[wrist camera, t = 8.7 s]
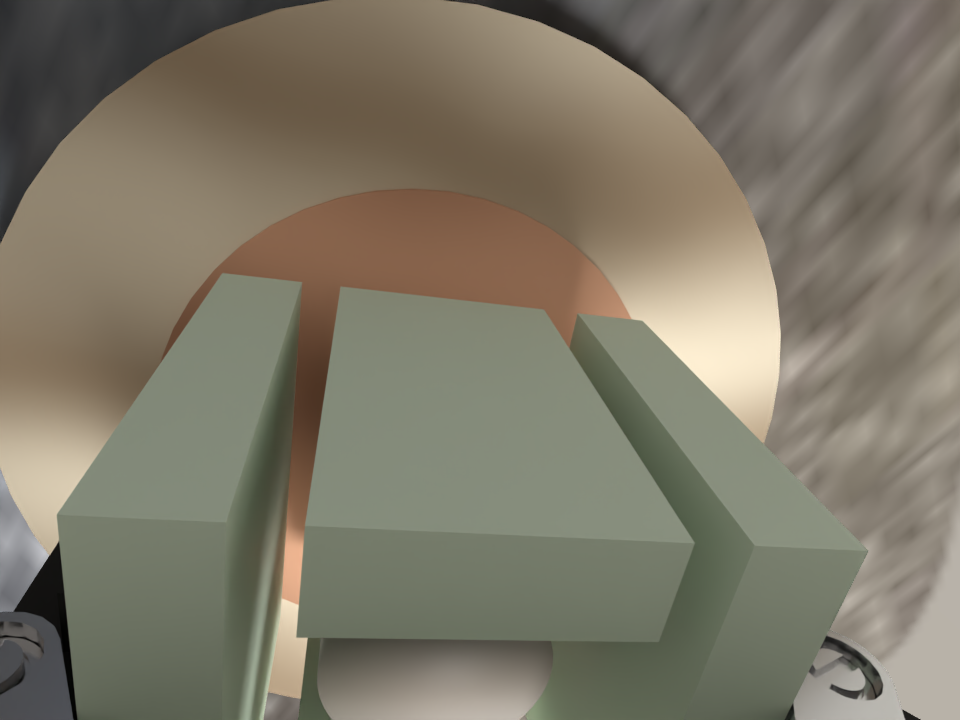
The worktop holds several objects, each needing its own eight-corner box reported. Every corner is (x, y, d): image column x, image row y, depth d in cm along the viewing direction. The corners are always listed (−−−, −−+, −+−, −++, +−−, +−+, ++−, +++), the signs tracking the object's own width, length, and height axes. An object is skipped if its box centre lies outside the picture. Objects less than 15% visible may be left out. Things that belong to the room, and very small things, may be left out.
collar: (222, 272, 10) (57, 514, 5) (642, 320, 12) (868, 551, 6) (217, 614, 13) (107, 1007, 8) (558, 620, 14) (665, 959, 9)
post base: (-31, -90, 11) (-742, -336, 4) (849, 86, 14) (1308, 120, 7) (53, 654, 17) (-163, 1056, 10) (645, 658, 20) (782, 969, 13)
